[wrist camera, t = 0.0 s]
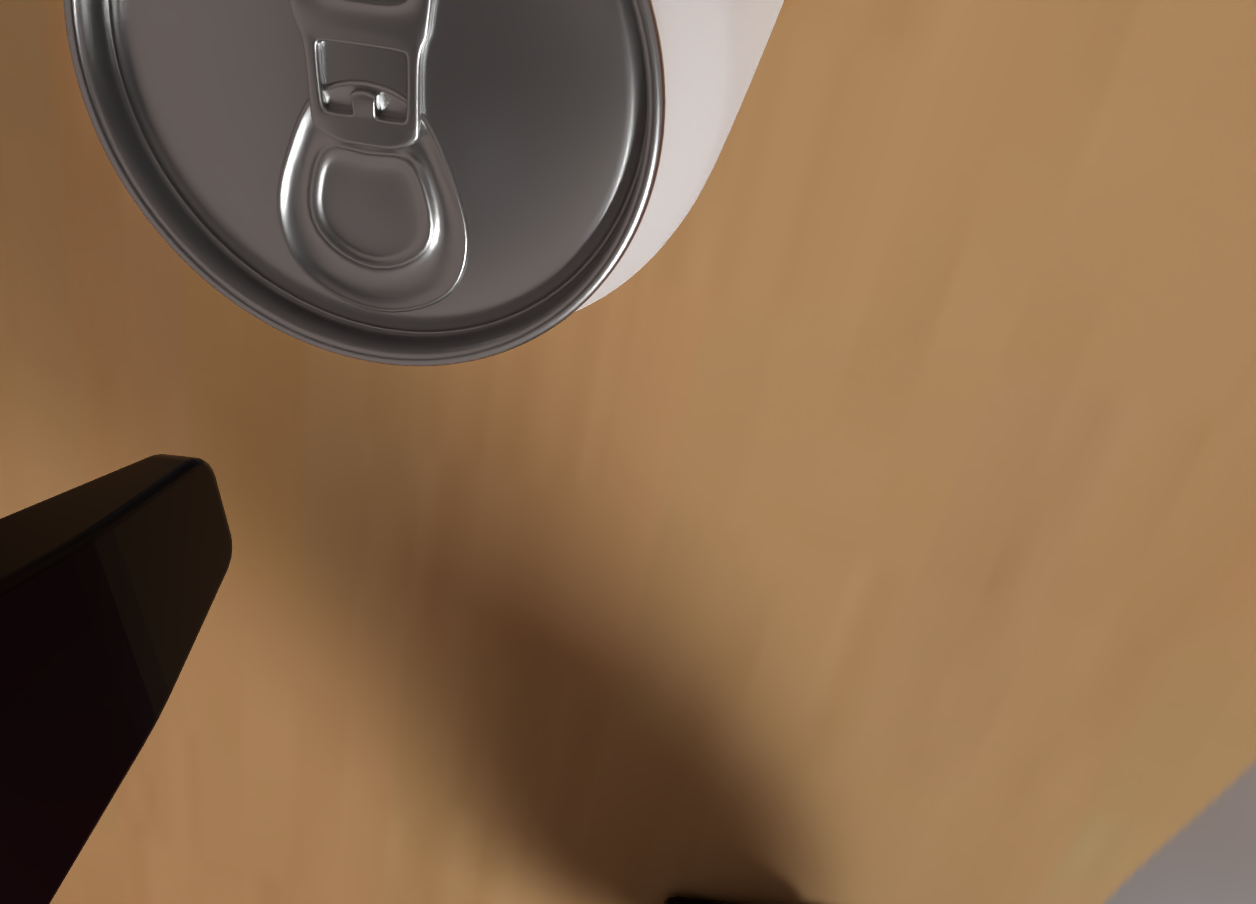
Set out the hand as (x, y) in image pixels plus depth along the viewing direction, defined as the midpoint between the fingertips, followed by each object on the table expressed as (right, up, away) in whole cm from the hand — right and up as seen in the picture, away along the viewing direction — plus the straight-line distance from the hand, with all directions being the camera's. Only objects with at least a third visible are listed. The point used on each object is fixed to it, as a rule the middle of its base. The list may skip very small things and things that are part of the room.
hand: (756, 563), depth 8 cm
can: (-1, +11, +11) cm, 16 cm away
